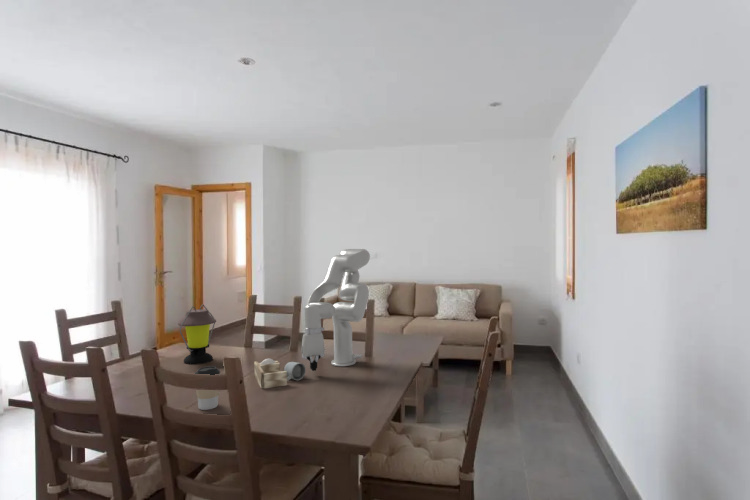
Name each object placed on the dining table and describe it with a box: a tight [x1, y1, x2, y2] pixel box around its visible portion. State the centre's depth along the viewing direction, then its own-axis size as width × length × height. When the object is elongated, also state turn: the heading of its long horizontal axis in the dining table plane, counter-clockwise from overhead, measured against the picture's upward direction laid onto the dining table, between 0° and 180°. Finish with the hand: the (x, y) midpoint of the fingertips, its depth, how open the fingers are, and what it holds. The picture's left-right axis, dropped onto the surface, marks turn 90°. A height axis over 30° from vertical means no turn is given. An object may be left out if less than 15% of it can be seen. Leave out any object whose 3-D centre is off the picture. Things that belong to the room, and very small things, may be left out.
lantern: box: [177, 304, 217, 365], centre depth 239 cm, size 25×19×30 cm
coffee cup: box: [194, 365, 221, 411], centre depth 170 cm, size 9×9×15 cm
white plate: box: [260, 358, 276, 365], centre depth 208 cm, size 8×1×8 cm, turn 114°
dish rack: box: [253, 360, 288, 390], centre depth 201 cm, size 11×20×7 cm, turn 23°
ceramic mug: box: [283, 361, 307, 382], centre depth 203 cm, size 11×8×8 cm
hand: (313, 370), depth 207 cm, fingers closed
